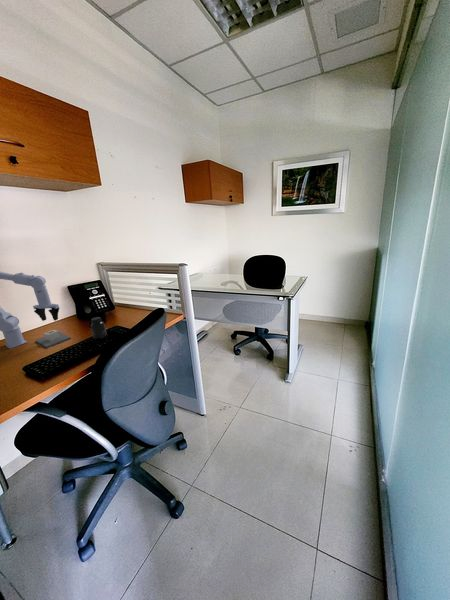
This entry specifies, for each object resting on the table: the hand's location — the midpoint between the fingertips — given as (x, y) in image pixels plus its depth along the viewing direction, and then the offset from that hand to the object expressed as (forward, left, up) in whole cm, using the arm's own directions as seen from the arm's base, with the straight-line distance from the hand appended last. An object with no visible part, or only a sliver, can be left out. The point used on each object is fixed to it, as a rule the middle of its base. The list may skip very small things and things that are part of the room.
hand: (50, 320), depth 137 cm
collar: (+5, -3, -9) cm, 11 cm away
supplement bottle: (+29, +12, -11) cm, 33 cm away
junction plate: (+5, -3, -10) cm, 12 cm away
